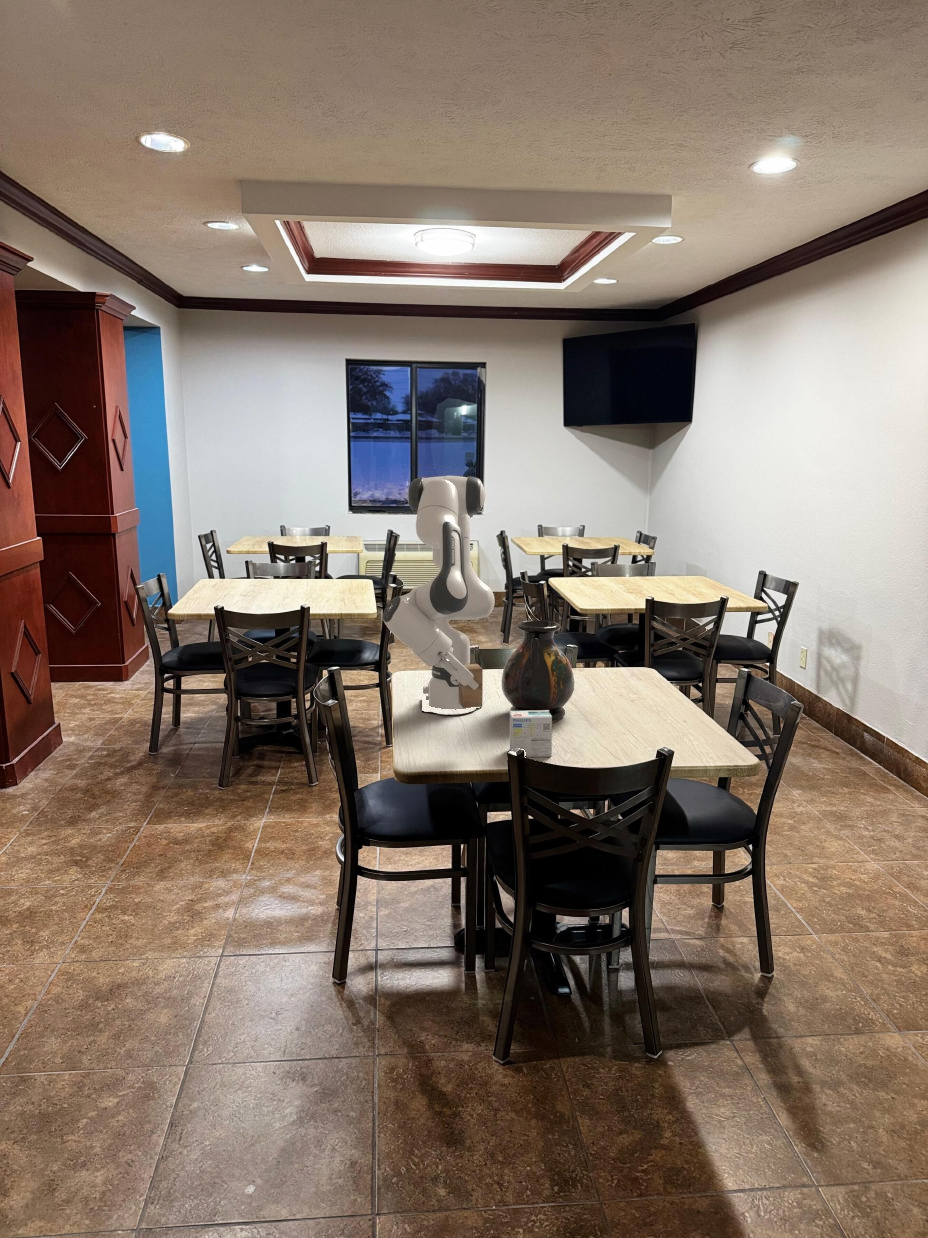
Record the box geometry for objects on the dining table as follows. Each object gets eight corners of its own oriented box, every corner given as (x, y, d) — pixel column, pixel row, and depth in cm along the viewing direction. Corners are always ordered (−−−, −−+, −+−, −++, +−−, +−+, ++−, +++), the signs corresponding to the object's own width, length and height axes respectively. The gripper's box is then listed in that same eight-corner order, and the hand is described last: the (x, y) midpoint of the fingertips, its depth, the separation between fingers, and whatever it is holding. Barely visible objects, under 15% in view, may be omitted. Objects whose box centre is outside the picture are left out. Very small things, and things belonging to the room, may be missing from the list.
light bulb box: (549, 748, 222) (549, 709, 220) (552, 757, 216) (553, 716, 214) (508, 749, 222) (508, 709, 220) (510, 758, 215) (511, 717, 213)
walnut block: (458, 702, 219) (458, 665, 217) (477, 701, 220) (477, 663, 218) (463, 708, 214) (463, 669, 212) (482, 706, 215) (482, 668, 213)
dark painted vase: (570, 729, 239) (572, 631, 234) (495, 724, 243) (496, 629, 238) (576, 708, 260) (578, 618, 255) (507, 704, 264) (507, 616, 259)
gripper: (453, 649, 202) (492, 685, 206) (435, 631, 221) (471, 665, 226) (435, 668, 202) (475, 704, 206) (418, 649, 221) (454, 682, 225)
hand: (472, 684), depth 216 cm, fingers closed on walnut block, 5 cm apart
